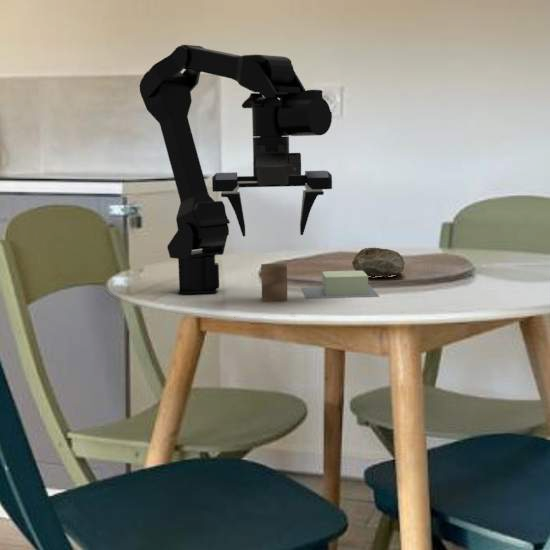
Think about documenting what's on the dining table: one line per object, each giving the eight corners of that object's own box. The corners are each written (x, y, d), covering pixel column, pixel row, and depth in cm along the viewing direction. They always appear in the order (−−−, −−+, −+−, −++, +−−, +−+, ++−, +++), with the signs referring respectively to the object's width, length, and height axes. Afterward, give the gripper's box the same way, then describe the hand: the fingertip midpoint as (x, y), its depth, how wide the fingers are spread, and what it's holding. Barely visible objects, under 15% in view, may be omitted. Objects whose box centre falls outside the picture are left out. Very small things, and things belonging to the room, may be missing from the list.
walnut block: (262, 304, 148) (261, 267, 148) (262, 300, 152) (261, 264, 152) (287, 304, 149) (286, 266, 148) (286, 299, 153) (285, 263, 152)
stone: (416, 271, 168) (389, 237, 167) (383, 300, 168) (355, 266, 167) (401, 264, 180) (375, 232, 179) (370, 290, 181) (344, 259, 179)
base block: (325, 295, 153) (325, 277, 153) (322, 288, 160) (322, 271, 160) (368, 294, 153) (368, 276, 153) (363, 287, 160) (362, 270, 160)
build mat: (305, 301, 151) (305, 298, 151) (301, 289, 163) (301, 287, 162) (379, 298, 151) (379, 296, 151) (369, 287, 163) (369, 285, 163)
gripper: (209, 137, 139) (212, 242, 141) (334, 135, 139) (336, 239, 141) (212, 138, 150) (215, 235, 152) (328, 135, 150) (329, 232, 152)
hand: (272, 235), depth 149 cm, fingers open, 9 cm apart
